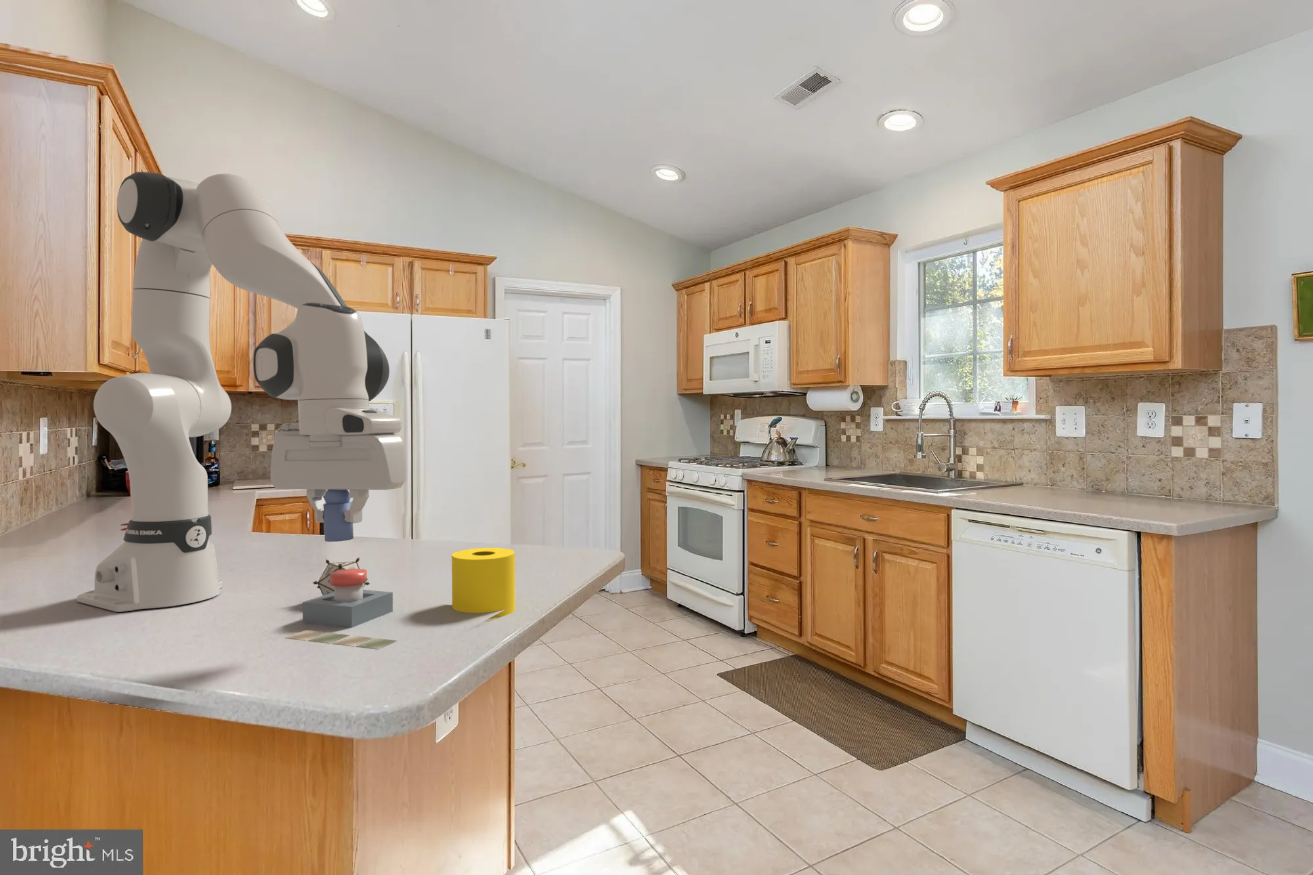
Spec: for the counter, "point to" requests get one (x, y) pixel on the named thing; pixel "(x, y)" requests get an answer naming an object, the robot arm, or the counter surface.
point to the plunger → (348, 584)
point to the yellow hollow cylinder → (484, 581)
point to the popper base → (347, 609)
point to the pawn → (337, 516)
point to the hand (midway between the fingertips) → (338, 522)
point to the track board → (346, 641)
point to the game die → (331, 567)
